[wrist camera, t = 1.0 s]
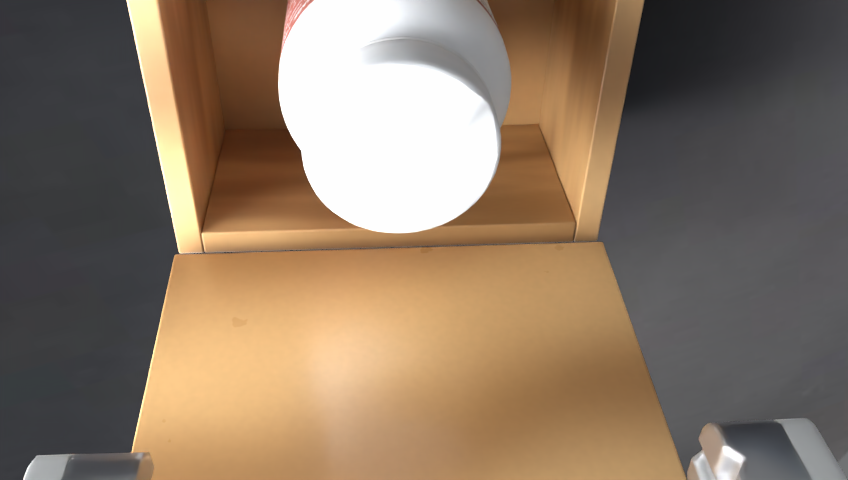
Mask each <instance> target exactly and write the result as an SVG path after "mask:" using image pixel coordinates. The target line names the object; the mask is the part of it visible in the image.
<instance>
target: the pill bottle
mask: <svg viewBox="0 0 848 480" xmlns="http://www.w3.org/2000/svg"><path fill="white" fill-rule="evenodd" d="M510 93H511V70H510V63H509V58H508V55H507V51H506V48H505V45H504V42H503V39H502V36H501V33H500V31H499V28H498V26H497V23H496V21H495V19H494V17H493V14H492V12H491V9H490V7H489V4H488V1H487V0H288V2H287V11H286V17H285V23H284V33H283V41H282V49H281V56H280V65H279V99H280V104H281V109H282V113H283V116H284V119H285V122H286V125H287V127H288V129H289V131H290V133H291V135H292V137H293V139H294V140H295V142H296V143H297V145H298V147H299V148H300V149H301V150H302V159H303V164H304V169H305V172H306V175H307V177H308V180H309V182H310V184H311V186H312V188H313V189H314V191H315V193H316V194H317V196H318V197H319V198H320V199H321V201H322V202H323V203H324V204H325V205H326V206H327V207H328V208H329V209H331V210H332V211H333V212H334V213H336V214H337V215H339V216H340V217H342V218H343V219H345V220H347V221H348V222H350V223H352V224H354V225H357V226H360V227H363V228H366V229H369V230H373V231H378V232H386V233H412V232H419V231H424V230H428V229H432V228H435V227H438V226H441V225H443V224H445V223H447V222H449V221H451V220H453V219H455V218H457V217H458V216H459V215H461V214H462V213H464V212H465V211H467V210H468V209H469V208H470V207H471V206H472V205H474V204H475V203H476V202H477V201H478V199H479V198H480V197H481V196H482V195H483V194H484V192H485V191H486V190H487V188H488V187H489V185H490V183H491V181H492V179H493V178H494V176H495V173H496V170H497V167H498V164H499V160H500V153H501V132H500V128H501V126H502V123H503V121H504V119H505V116H506V112H507V109H508V105H509V101H510Z"/></svg>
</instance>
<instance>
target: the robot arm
mask: <svg viewBox="0 0 848 480" xmlns="http://www.w3.org/2000/svg"><path fill="white" fill-rule="evenodd" d="M699 441H700V443H701V446H702V448H703V450H701V451H700V452H699V453H697V454H696V455H695V456H694V457H692V459H691V462H690V465H689V469H688V472H687V480H848V479H847V477H846V476H845V474H844V473H843V471H842V469H841V467H840V466H839V464H838V462H837V461H836V459H835V457H834V456H833V454H832V453H831V451H830V449H829V448H828V446H827V444H826V443H825V441H824V439H823V438H822V436H821V434H820V433H819V431H818V429H817V428H816V426H815V424H814V423H813V422H811V421H810V420H809V419H807V418H794V419H778V420H770V419H762V420H747V421H731V422H716V423H708V424H707V425H706V426H704V427H703V429H702V431H701V434H700V436H699ZM153 469H154V465H153V462H152V459H151V456H150V453H149V452H136V453H96V454H62V455H38V456H36V457H35V459H34V460H33V461H32V462H31V464H30V465H29V466H28V468H27V471H26V474H25V476H24V479H23V480H151V479H152V474H153Z"/></svg>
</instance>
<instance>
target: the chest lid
mask: <svg viewBox="0 0 848 480" xmlns="http://www.w3.org/2000/svg"><path fill="white" fill-rule="evenodd" d="M136 452H149V453H150V456H151V459H152V462H153V465H154V469H153V474H152V479H151V480H687V478H686V476H685V473H684V470H683V467H682V464H681V462H680V459H679V456H678V453H677V450H676V447H675V445H674V442H673V439H672V436H671V433H670V430H669V428H668V425H667V422H666V419H665V416H664V414H663V411H662V408H661V405H660V402H659V399H658V397H657V394H656V391H655V388H654V385H653V382H652V380H651V377H650V374H649V371H648V368H647V366H646V363H645V360H644V357H643V354H642V351H641V349H640V346H639V343H638V340H637V337H636V334H635V332H634V329H633V326H632V323H631V320H630V317H629V315H628V312H627V309H626V306H625V303H624V301H623V298H622V295H621V292H620V289H619V286H618V284H617V281H616V278H615V275H614V272H613V269H612V267H611V264H610V261H609V258H608V255H607V253H606V250H605V247H604V244H603V242H582V243H549V244H516V245H482V246H449V247H416V248H383V249H350V250H316V251H283V252H250V253H217V254H184V255H175V256H174V260H173V265H172V269H171V274H170V278H169V283H168V288H167V292H166V297H165V301H164V306H163V310H162V315H161V320H160V324H159V329H158V333H157V338H156V342H155V347H154V352H153V356H152V361H151V365H150V370H149V374H148V379H147V384H146V388H145V393H144V397H143V402H142V406H141V411H140V415H139V420H138V425H137V429H136V434H135V438H134V443H133V447H132V452H131V453H136Z"/></svg>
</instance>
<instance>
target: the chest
mask: <svg viewBox="0 0 848 480" xmlns="http://www.w3.org/2000/svg"><path fill="white" fill-rule="evenodd" d="M487 1H488V4H489V7H490V9H491V12H492V14H493V17H494V19H495V21H496V23H497V26H498V28H499V31H500V33H501V36H502V39H503V42H504V45H505V48H506V51H507V55H508V58H509V63H510V70H511V93H510V101H509V105H508V109H507V112H506V116H505V119H504V121H503V123H502V126H501V128H500V132H501V153H500V160H499V164H498V167H497V170H496V173H495V176H494V178H493V179H492V181H491V183H490V185H489V187H488V188H487V190H486V191H485V192H484V194H483V195H482V196H481V197H480V198H479V199H478V201H477V202H476V203H475V204H474V205H472V206H471V207H470V208H469V209H468V210H467V211H465V212H464V213H462V214H461V215H459V216H458V217H457V218H455V219H453V220H451V221H449V222H447V223H445V224H443V225H441V226H438V227H435V228H432V229H428V230H424V231H419V232H412V233H386V232H378V231H373V230H369V229H366V228H363V227H360V226H357V225H354V224H352V223H350V222H348V221H347V220H345V219H343V218H342V217H340V216H339V215H337V214H336V213H334V212H333V211H332V210H331V209H329V208H328V207H327V206H326V205H325V204H324V203H323V202H322V201H321V199H320V198H319V197H318V196H317V194H316V193H315V191H314V189H313V188H312V186H311V184H310V182H309V180H308V177H307V175H306V172H305V169H304V164H303V159H302V150H301V149H300V148H299V147H298V145H297V143H296V142H295V140H294V139H293V137H292V135H291V133H290V131H289V129H288V127H287V125H286V122H285V119H284V116H283V113H282V109H281V104H280V99H279V65H280V56H281V49H282V41H283V33H284V23H285V17H286V11H287V2H288V0H127V5H128V9H129V14H130V19H131V24H132V29H133V33H134V38H135V43H136V48H137V53H138V57H139V62H140V67H141V72H142V77H143V81H144V86H145V91H146V96H147V101H148V105H149V110H150V115H151V120H152V125H153V130H154V134H155V139H156V144H157V149H158V154H159V158H160V163H161V168H162V173H163V178H164V182H165V187H166V192H167V197H168V202H169V206H170V211H171V216H172V221H173V226H174V230H175V235H176V240H177V245H178V250H179V253H202V252H204V250H205V252H237V251H271V250H304V249H337V248H371V247H404V246H438V245H471V244H504V243H538V242H571V241H573V240H574V241H596V240H597V238H598V233H599V228H600V223H601V218H602V213H603V208H604V203H605V198H606V193H607V188H608V182H609V177H610V172H611V167H612V162H613V157H614V152H615V147H616V142H617V137H618V132H619V127H620V122H621V117H622V112H623V107H624V102H625V96H626V91H627V86H628V81H629V76H630V71H631V66H632V61H633V56H634V51H635V46H636V41H637V36H638V31H639V26H640V21H641V16H642V10H643V5H644V0H487Z"/></svg>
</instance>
